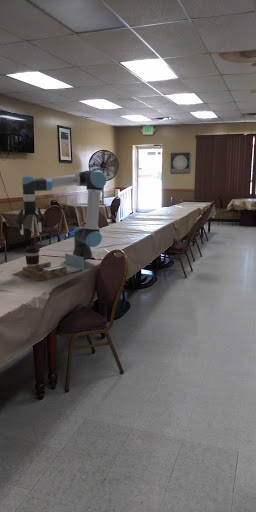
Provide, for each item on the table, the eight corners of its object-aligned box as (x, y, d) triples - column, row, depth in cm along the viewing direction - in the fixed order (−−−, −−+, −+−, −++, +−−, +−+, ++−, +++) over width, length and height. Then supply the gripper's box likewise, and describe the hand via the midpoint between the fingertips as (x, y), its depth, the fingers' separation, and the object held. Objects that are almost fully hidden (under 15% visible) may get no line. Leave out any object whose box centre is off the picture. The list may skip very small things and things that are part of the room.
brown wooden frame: (50, 269, 264) (49, 262, 263) (66, 274, 250) (66, 267, 249) (22, 275, 250) (22, 267, 249) (39, 281, 237) (38, 273, 235)
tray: (66, 265, 273) (66, 253, 271) (83, 270, 260) (83, 257, 258) (41, 271, 259) (40, 257, 257) (57, 276, 246) (57, 262, 244)
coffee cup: (41, 270, 261) (40, 248, 258) (25, 271, 258) (24, 249, 255) (40, 266, 270) (38, 245, 267) (25, 267, 267) (23, 246, 264)
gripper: (42, 199, 265) (44, 230, 269) (8, 201, 247) (11, 234, 252) (49, 199, 260) (50, 231, 264) (14, 202, 242) (17, 236, 247)
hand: (31, 233), depth 258 cm, fingers open, 13 cm apart
